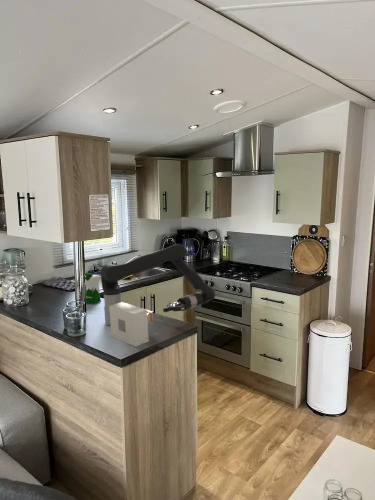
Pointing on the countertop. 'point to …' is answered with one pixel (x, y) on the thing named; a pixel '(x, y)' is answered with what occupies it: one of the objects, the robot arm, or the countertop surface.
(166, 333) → the countertop surface
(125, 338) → the key box
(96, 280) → the milk carton
